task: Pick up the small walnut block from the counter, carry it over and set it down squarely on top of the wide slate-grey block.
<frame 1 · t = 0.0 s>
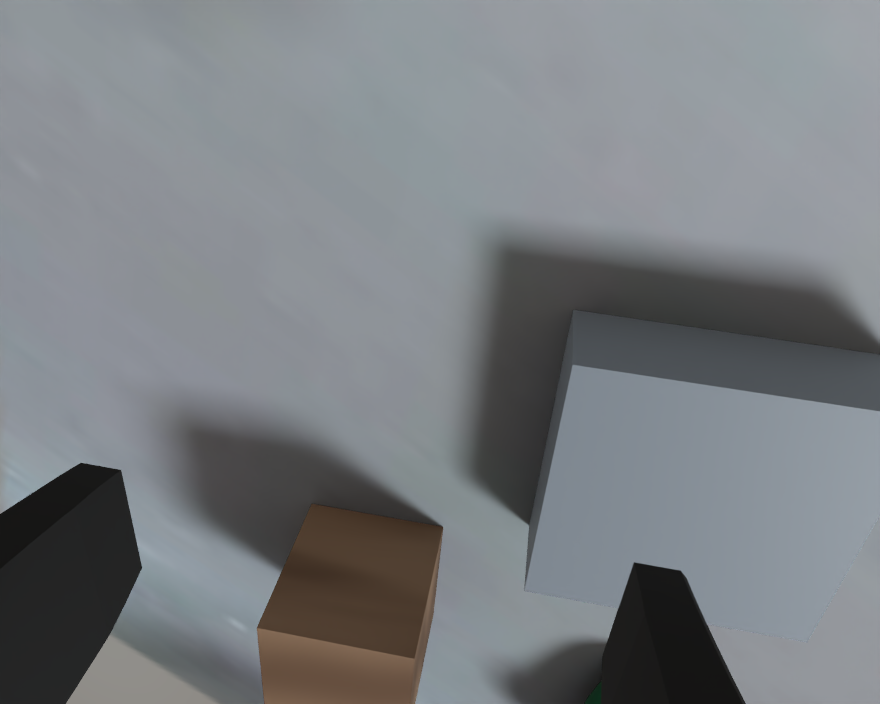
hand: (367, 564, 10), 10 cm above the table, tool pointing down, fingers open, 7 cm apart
slate block: (686, 442, 21), on the table
walnut block: (375, 559, 25), on the table
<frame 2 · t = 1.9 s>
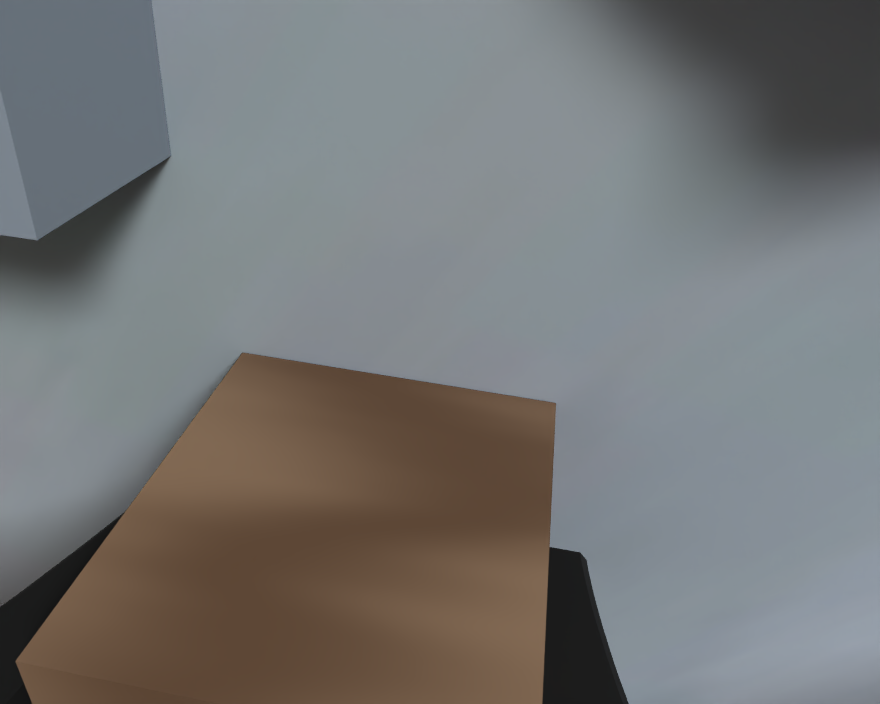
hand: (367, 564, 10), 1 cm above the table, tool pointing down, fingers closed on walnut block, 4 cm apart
walnut block: (389, 493, 11), on the table, touching gripper
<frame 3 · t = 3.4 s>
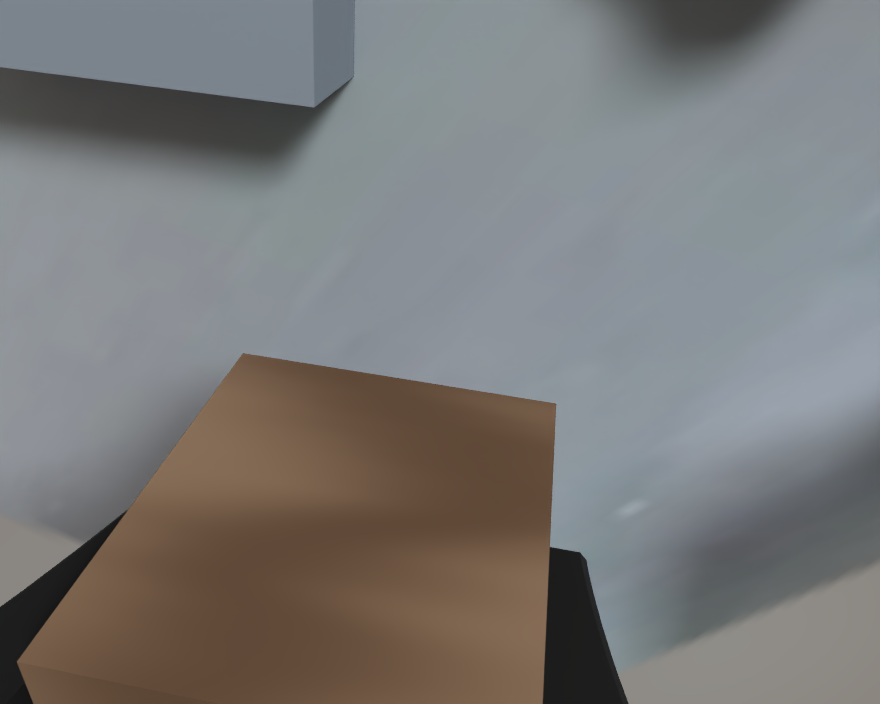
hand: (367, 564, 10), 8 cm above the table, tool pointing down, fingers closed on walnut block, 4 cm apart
walnut block: (389, 494, 11), point 7 cm above the table, touching gripper
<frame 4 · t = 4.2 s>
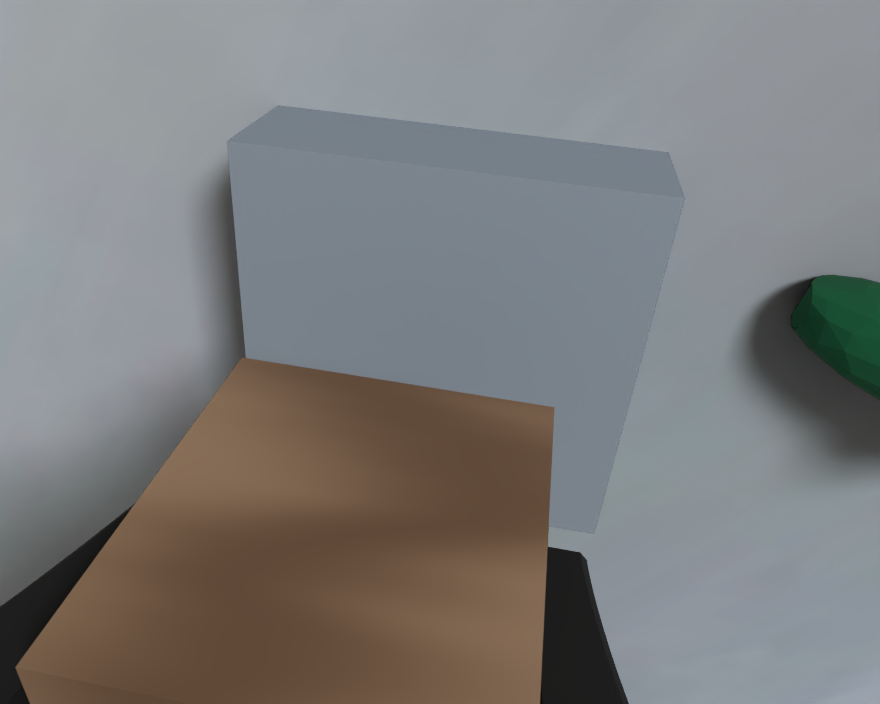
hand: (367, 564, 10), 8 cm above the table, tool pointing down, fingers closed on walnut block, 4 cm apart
slate block: (454, 293, 17), on the table
walnut block: (388, 497, 11), point 6 cm above the table, touching gripper
when the fingers open (6 cm above the table, at t = 4.9 s): walnut block drops 2 cm, resting on slate block.
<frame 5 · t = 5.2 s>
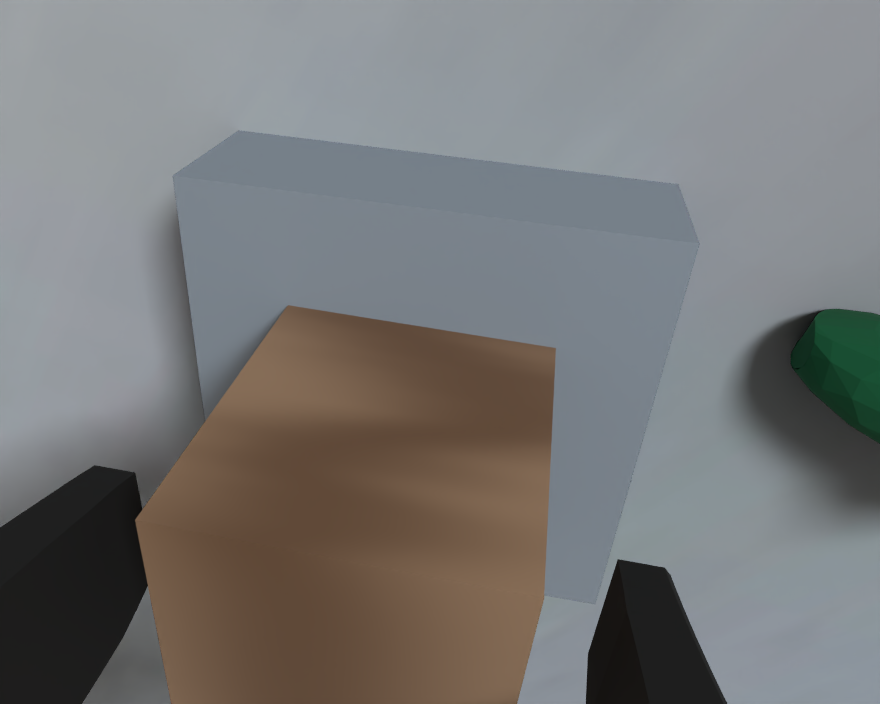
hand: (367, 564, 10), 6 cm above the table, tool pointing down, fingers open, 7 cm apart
slate block: (439, 335, 15), on the table, touching walnut block
walnut block: (410, 432, 13), point 3 cm above the table, touching slate block
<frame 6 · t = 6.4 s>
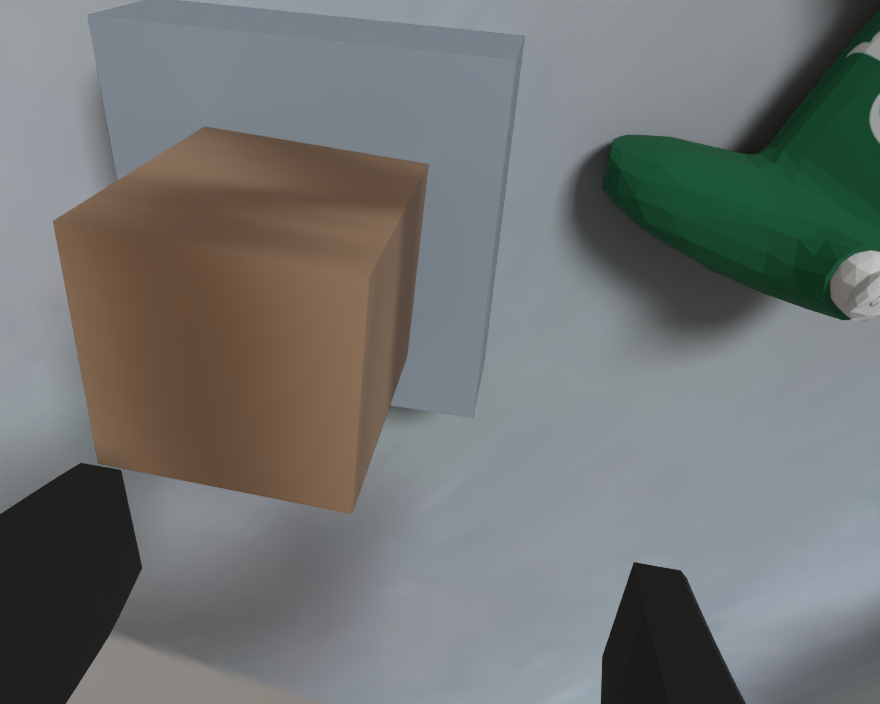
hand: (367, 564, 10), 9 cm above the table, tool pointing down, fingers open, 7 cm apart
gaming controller: (843, 49, 14), on the table
slate block: (341, 191, 18), on the table, touching walnut block
walnut block: (313, 249, 15), point 3 cm above the table, touching slate block
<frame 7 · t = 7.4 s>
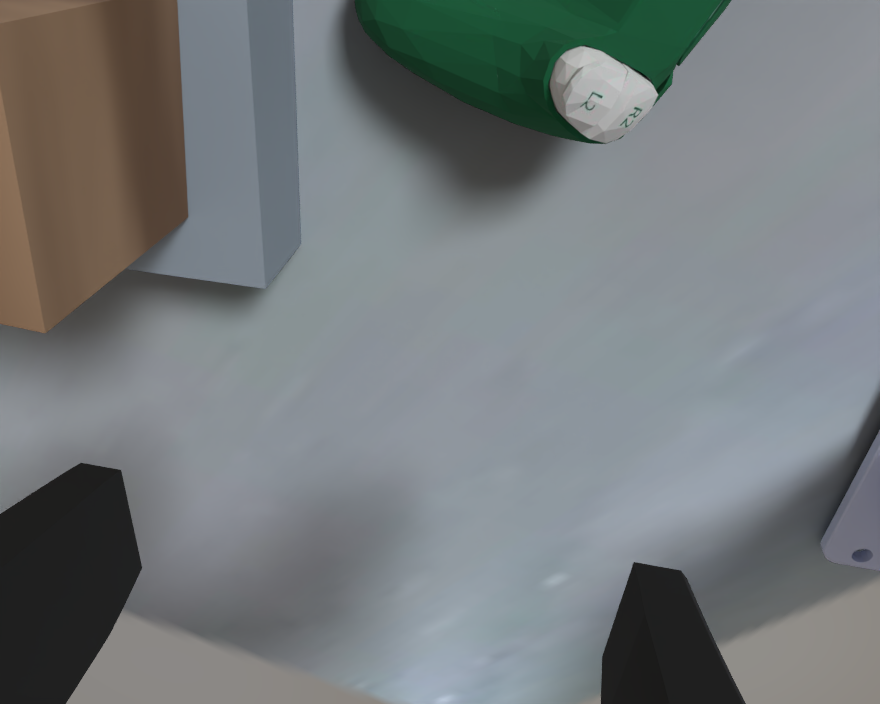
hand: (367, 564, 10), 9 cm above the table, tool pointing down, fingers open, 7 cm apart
slate block: (137, 56, 17), on the table
walnut block: (75, 90, 14), point 3 cm above the table
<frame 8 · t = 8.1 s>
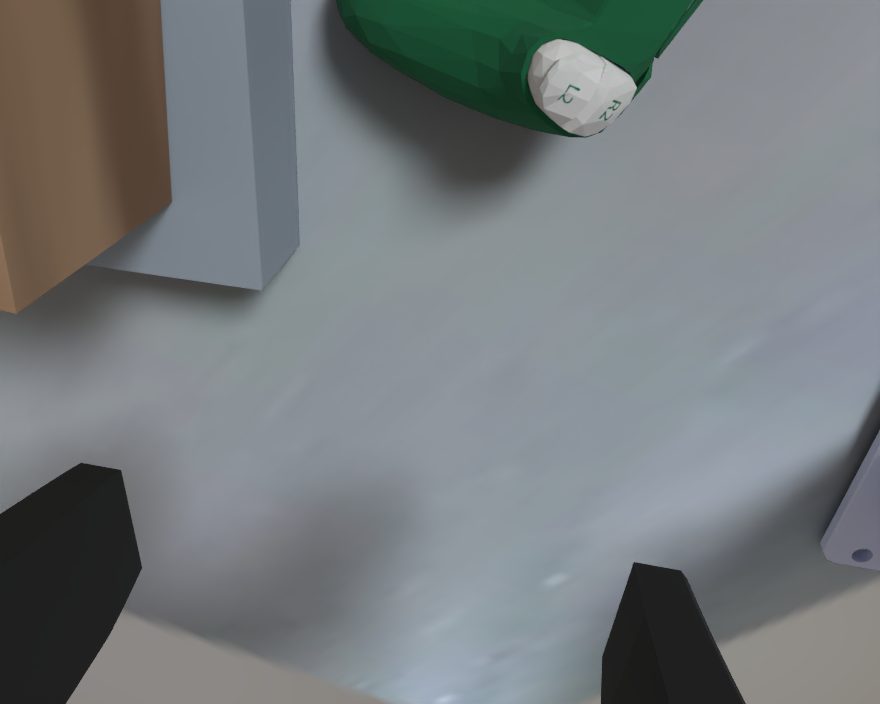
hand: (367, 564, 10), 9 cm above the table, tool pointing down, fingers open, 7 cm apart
slate block: (135, 58, 17), on the table
walnut block: (57, 71, 14), point 3 cm above the table
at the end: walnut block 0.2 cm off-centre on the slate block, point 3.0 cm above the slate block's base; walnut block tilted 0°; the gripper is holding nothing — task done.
